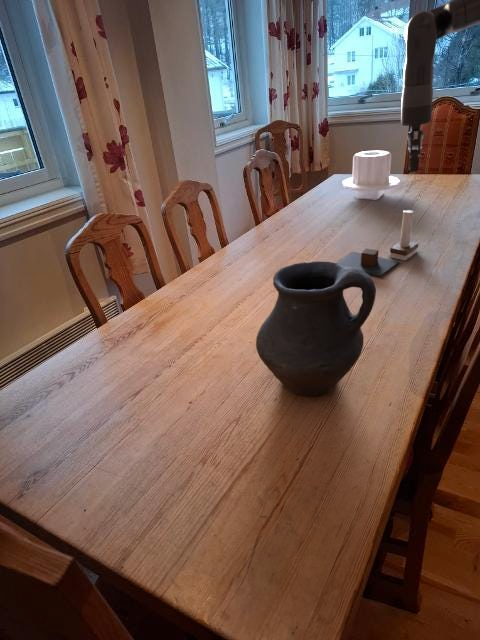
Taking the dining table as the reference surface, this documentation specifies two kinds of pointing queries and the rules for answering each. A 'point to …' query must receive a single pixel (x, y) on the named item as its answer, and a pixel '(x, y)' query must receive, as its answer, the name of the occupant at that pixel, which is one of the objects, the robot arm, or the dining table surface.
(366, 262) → the brown cube
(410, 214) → the tall white pillar
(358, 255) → the mat
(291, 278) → the pitcher
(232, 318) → the dining table surface
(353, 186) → the flanged gear
